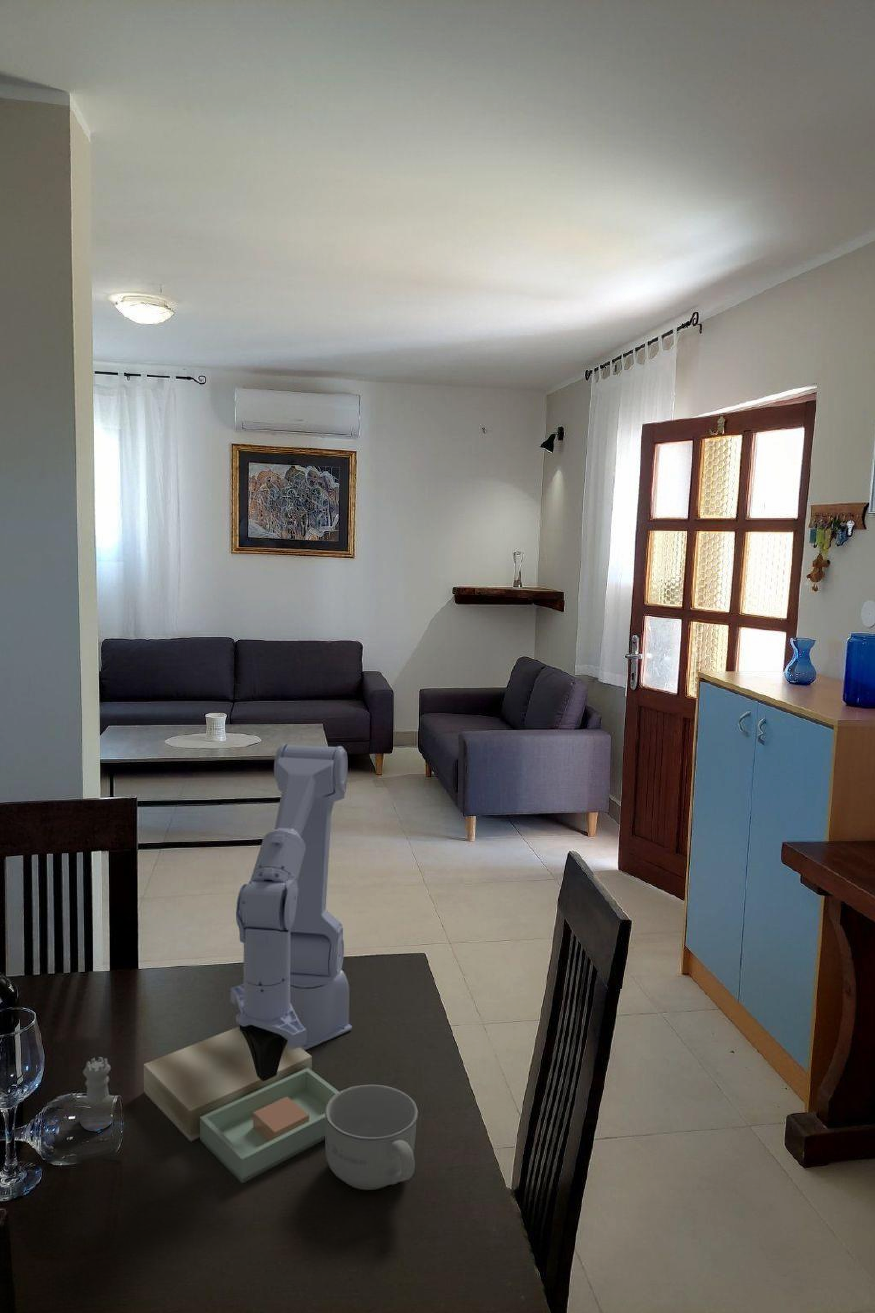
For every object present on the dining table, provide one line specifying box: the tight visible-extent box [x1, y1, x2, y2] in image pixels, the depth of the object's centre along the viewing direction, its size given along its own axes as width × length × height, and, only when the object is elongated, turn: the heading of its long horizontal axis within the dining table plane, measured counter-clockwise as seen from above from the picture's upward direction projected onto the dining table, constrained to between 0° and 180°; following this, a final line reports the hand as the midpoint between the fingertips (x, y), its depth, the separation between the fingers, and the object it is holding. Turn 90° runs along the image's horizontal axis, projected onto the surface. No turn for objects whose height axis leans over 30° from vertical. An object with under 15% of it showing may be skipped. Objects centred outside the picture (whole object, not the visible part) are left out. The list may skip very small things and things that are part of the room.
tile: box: [253, 1097, 309, 1141], centre depth 111 cm, size 5×5×2 cm
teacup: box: [324, 1084, 419, 1191], centre depth 102 cm, size 14×11×8 cm
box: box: [199, 1068, 340, 1184], centre depth 111 cm, size 16×10×3 cm, turn 133°
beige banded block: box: [143, 1026, 313, 1142], centre depth 119 cm, size 18×13×4 cm
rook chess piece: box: [82, 1056, 112, 1102], centre depth 111 cm, size 4×4×8 cm
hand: (267, 1076), depth 112 cm, fingers closed
